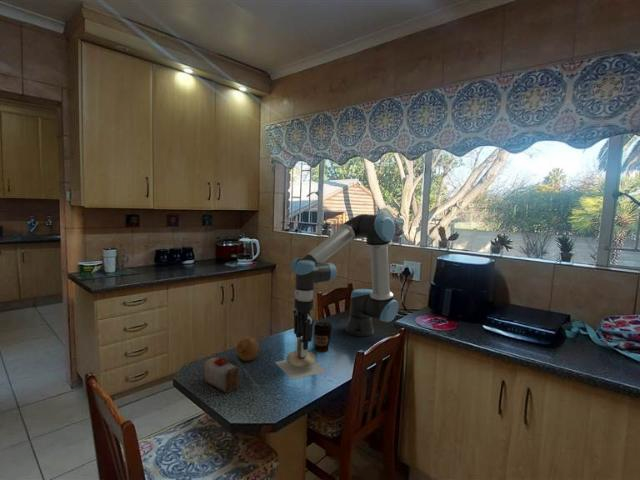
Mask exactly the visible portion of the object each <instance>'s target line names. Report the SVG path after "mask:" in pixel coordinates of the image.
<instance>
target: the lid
mask: <svg viewBox="0 0 640 480" xmlns="http://www.w3.org/2000/svg"><path fill="white" fill-rule="evenodd" d="M301 341H302V339H300V340H298V353H296V350H295V351H292V352H290V353H288V354H287V356H286V360H287V362H288V363H289V364H291V365H293V366H298V367H306V366H311V365H313V364H314V363H315V362H317V355H316V354H314V353H313V352H310V351H308V352H307V356H305V357H301Z"/></svg>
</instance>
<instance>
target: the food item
mask: <svg viewBox="0 0 640 480" xmlns="http://www.w3.org/2000/svg"><path fill="white" fill-rule="evenodd" d="M203 367H204V369H203V370H204V372H203V373H204V382H205V383H207V384H208V385H212V386H213V387H215V388H216V389H218V390H221V391H222V392H224V393H226V394H229V393H231V392H232V391H234V390H236V389H238V388H239V385H240V382H239V379H240V367H238V366H236V365H235V364H233V363H231V362H230V361H229V360H228V357H225V358H224V357H211V358H209V359H207V360H206V361H204V365H203Z"/></svg>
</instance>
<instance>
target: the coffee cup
mask: <svg viewBox="0 0 640 480" xmlns="http://www.w3.org/2000/svg"><path fill="white" fill-rule="evenodd" d="M313 329H314V334H313V336H314V337H313V338H314V339H313V340H314V350H315V351H316V352H319V353H326V352H328V351H329V346H330V342H331V335H332V330H333V326H332V323H331V322H329V321H318V322H316V323H315V324H314V325H313Z"/></svg>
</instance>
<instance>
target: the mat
mask: <svg viewBox="0 0 640 480" xmlns="http://www.w3.org/2000/svg"><path fill="white" fill-rule="evenodd" d="M274 363H275V365H277V366H278V368H280V369H281V370H282V372H284V373H285V375H286V376H287V377H288V378H289V379H290V380H291V381H292V380H297V379H301V378H305V377H308V376H314V375H317V374H318V375H319V374H321V373H326V372H327V370H326V368H324V367H323V366H322V365H320V364H319V363H318V362H317V361H316V362H315V363H314V364H313V365H311V366H306V367H298V366H293V365H291V364H289V363H288V362H287V359H284V360H283V359H282V360H280V361H279V360H278V361H275V362H274Z"/></svg>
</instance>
